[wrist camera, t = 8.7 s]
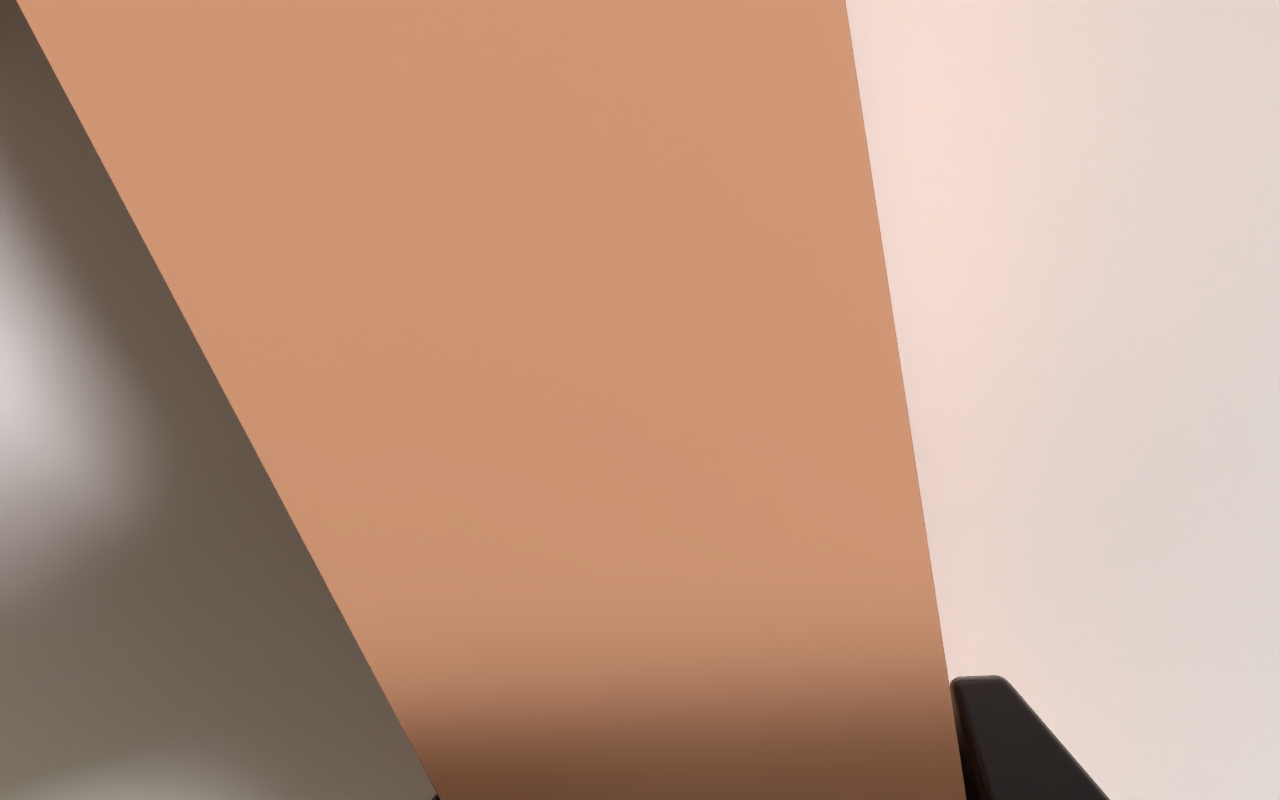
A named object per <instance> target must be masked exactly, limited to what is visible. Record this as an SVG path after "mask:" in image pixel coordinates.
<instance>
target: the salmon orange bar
mask: <svg viewBox="0 0 1280 800" xmlns="http://www.w3.org/2000/svg"><path fill="white" fill-rule="evenodd" d="M16 1H17V3H18V5H19V7H20V9H21V10H22V12H23V14H24V16H25V18H26V20H27V22H28V24H29V26H30V27H31V29H32V31H33V33H34V35H35V37H36V39H37V41H38V43H39V44H40V46H41V48H42V50H43V52H44V54H45V56H46V58H47V59H48V61H49V63H50V65H51V67H52V69H53V71H54V73H55V75H56V76H57V78H58V80H59V82H60V84H61V86H62V88H63V90H64V91H65V93H66V95H67V97H68V99H69V101H70V103H71V105H72V107H73V108H74V110H75V112H76V114H77V116H78V118H79V120H80V122H81V124H82V125H83V127H84V129H85V131H86V133H87V135H88V137H89V139H90V140H91V142H92V144H93V146H94V148H95V150H96V152H97V154H98V156H99V157H100V159H101V161H102V163H103V165H104V167H105V169H106V171H107V172H108V174H109V176H110V178H111V180H112V182H113V184H114V186H115V188H116V189H117V191H118V193H119V195H120V197H121V199H122V201H123V203H124V205H125V206H126V208H127V210H128V212H129V214H130V216H131V218H132V220H133V221H134V223H135V225H136V227H137V229H138V231H139V233H140V235H141V237H142V238H143V240H144V242H145V244H146V246H147V248H148V250H149V252H150V253H151V255H152V257H153V259H154V261H155V263H156V265H157V267H158V269H159V270H160V272H161V274H162V276H163V278H164V280H165V282H166V284H167V286H168V287H169V289H170V291H171V293H172V295H173V297H174V299H175V301H176V302H177V304H178V306H179V308H180V310H181V312H182V314H183V316H184V318H185V319H186V321H187V323H188V325H189V327H190V329H191V331H192V333H193V334H194V336H195V338H196V340H197V342H198V344H199V346H200V348H201V350H202V351H203V353H204V355H205V357H206V359H207V361H208V363H209V365H210V367H211V368H212V370H213V372H214V374H215V376H216V378H217V380H218V382H219V383H220V385H221V387H222V389H223V391H224V393H225V395H226V397H227V399H228V400H229V402H230V404H231V406H232V408H233V410H234V412H235V414H236V415H237V417H238V419H239V421H240V423H241V425H242V427H243V429H244V431H245V432H246V434H247V436H248V438H249V440H250V442H251V444H252V446H253V448H254V449H255V451H256V453H257V455H258V457H259V459H260V461H261V463H262V464H263V466H264V468H265V470H266V472H267V474H268V476H269V478H270V480H271V481H272V483H273V485H274V487H275V489H276V491H277V493H278V495H279V496H280V498H281V500H282V502H283V504H284V506H285V508H286V510H287V512H288V513H289V515H290V517H291V519H292V521H293V523H294V525H295V527H296V529H297V530H298V532H299V534H300V536H301V538H302V540H303V542H304V544H305V545H306V547H307V549H308V551H309V553H310V555H311V557H312V559H313V561H314V562H315V564H316V566H317V568H318V570H319V572H320V574H321V576H322V577H323V579H324V581H325V583H326V585H327V587H328V589H329V591H330V593H331V594H332V596H333V598H334V600H335V602H336V604H337V606H338V608H339V610H340V611H341V613H342V615H343V617H344V619H345V621H346V623H347V625H348V626H349V628H350V630H351V632H352V634H353V636H354V638H355V640H356V642H357V643H358V645H359V647H360V649H361V651H362V653H363V655H364V657H365V658H366V660H367V662H368V664H369V666H370V668H371V670H372V672H373V674H374V675H375V677H376V679H377V681H378V683H379V685H380V687H381V689H382V691H383V692H384V694H385V696H386V698H387V700H388V702H389V704H390V706H391V707H392V709H393V711H394V713H395V715H396V717H397V719H398V721H399V723H400V724H401V726H402V728H403V730H404V732H405V734H406V736H407V738H408V739H409V741H410V743H411V745H412V747H413V749H414V751H415V753H416V755H417V756H418V758H419V760H420V762H421V764H422V766H423V768H424V770H425V772H426V773H427V775H428V777H429V779H430V781H431V783H432V785H433V787H434V788H435V790H436V792H437V794H438V796H439V798H440V800H967V799H966V793H965V786H964V780H963V773H962V766H961V760H960V753H959V747H958V740H957V733H956V727H955V720H954V714H953V707H952V701H951V694H950V687H949V681H948V674H947V668H946V661H945V654H944V648H943V641H942V635H941V628H940V622H939V615H938V608H937V602H936V595H935V589H934V582H933V575H932V569H931V562H930V556H929V549H928V543H927V536H926V529H925V523H924V516H923V510H922V503H921V496H920V490H919V483H918V477H917V470H916V464H915V457H914V450H913V444H912V437H911V431H910V424H909V417H908V411H907V404H906V398H905V391H904V385H903V378H902V371H901V365H900V358H899V352H898V345H897V338H896V332H895V325H894V319H893V312H892V306H891V299H890V292H889V286H888V279H887V273H886V266H885V259H884V253H883V246H882V240H881V233H880V227H879V220H878V213H877V207H876V200H875V194H874V187H873V180H872V174H871V167H870V161H869V154H868V148H867V141H866V134H865V128H864V121H863V115H862V108H861V101H860V95H859V88H858V82H857V75H856V69H855V62H854V55H853V49H852V42H851V36H850V29H849V22H848V16H847V9H846V3H845V0H16Z"/></svg>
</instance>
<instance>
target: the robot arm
mask: <svg viewBox="0 0 1280 800" xmlns="http://www.w3.org/2000/svg"><path fill="white" fill-rule="evenodd" d="M950 694H951V701H952V707H953V714H954V720H955V727H956V733H957V740H958V747H959V753H960V760H961V766H962V773H963V780H964V786H965V793H966V799H967V800H1110V799H1109V798H1108V797H1107V796H1106V794H1105V793H1104V792H1103V791H1102V790H1101V789H1100V787H1099V786H1098V785H1097V784H1096V783H1095V782H1094V781H1093V779H1092V778H1091V777H1090V776H1089V775H1088V774H1087V772H1086V771H1085V770H1084V769H1083V768H1082V767H1081V765H1080V764H1079V763H1078V762H1077V761H1076V760H1075V758H1074V757H1073V756H1072V755H1071V754H1070V753H1069V751H1068V750H1067V749H1066V748H1065V747H1064V746H1063V744H1062V743H1061V742H1060V741H1059V740H1058V739H1057V737H1056V736H1055V735H1054V734H1053V733H1052V732H1051V731H1050V729H1049V728H1048V727H1047V726H1046V725H1045V724H1044V722H1043V721H1042V720H1041V719H1040V718H1039V717H1038V715H1037V714H1036V713H1035V712H1034V711H1033V710H1032V708H1031V707H1030V706H1029V705H1028V704H1027V703H1026V701H1025V700H1024V699H1023V698H1022V697H1021V696H1020V694H1019V693H1018V692H1017V691H1016V690H1015V689H1014V688H1013V686H1012V685H1011V684H1010V683H1009V682H1008V681H1007V680H1006V679H1004V678H1002V677H1000V676H996V675H990V676H967V677H957V678H955V679H954V680H952V681H951V683H950ZM432 800H440V798H439V796H438V794H437V793H436V795H435V796H434V797H433V798H432Z"/></svg>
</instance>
